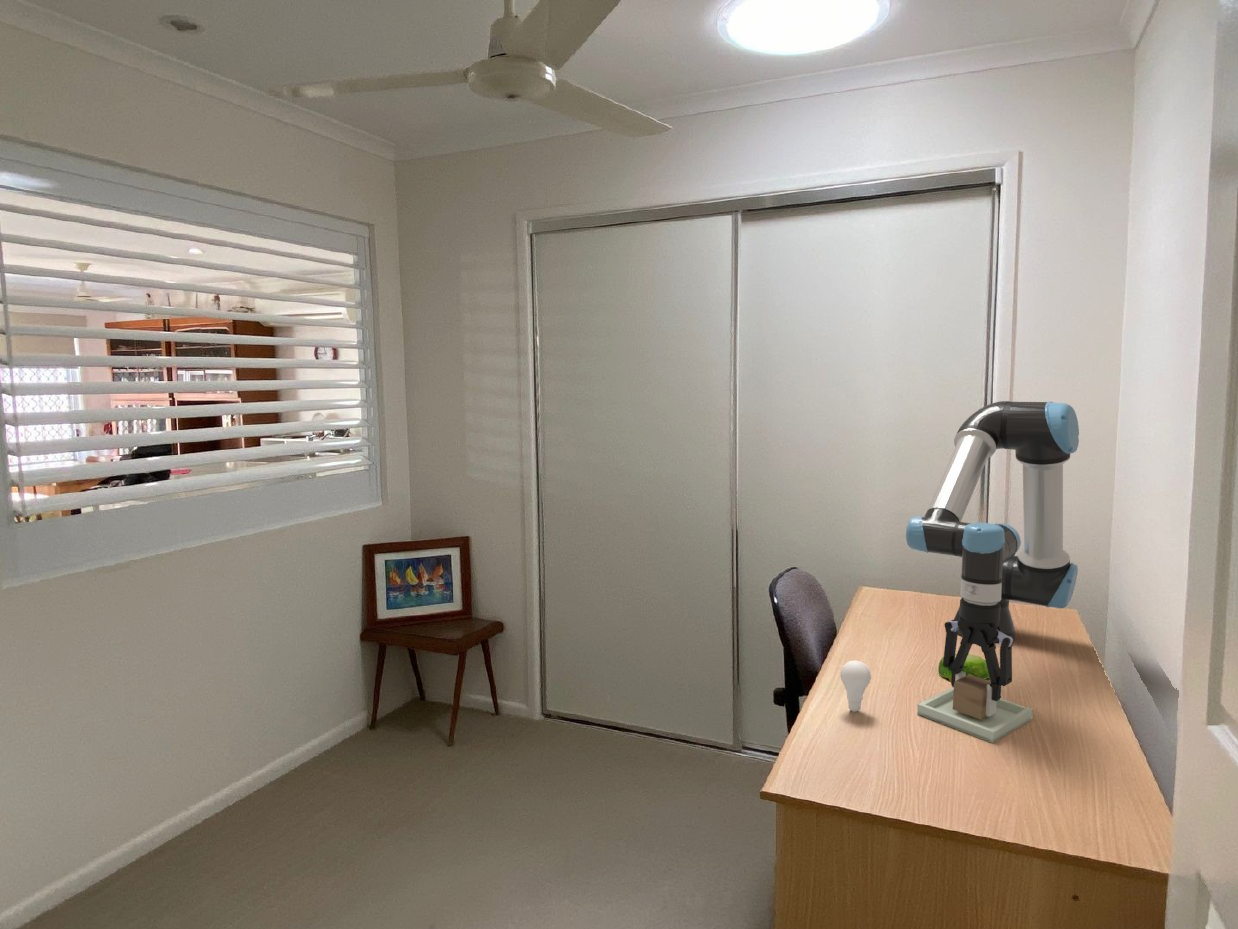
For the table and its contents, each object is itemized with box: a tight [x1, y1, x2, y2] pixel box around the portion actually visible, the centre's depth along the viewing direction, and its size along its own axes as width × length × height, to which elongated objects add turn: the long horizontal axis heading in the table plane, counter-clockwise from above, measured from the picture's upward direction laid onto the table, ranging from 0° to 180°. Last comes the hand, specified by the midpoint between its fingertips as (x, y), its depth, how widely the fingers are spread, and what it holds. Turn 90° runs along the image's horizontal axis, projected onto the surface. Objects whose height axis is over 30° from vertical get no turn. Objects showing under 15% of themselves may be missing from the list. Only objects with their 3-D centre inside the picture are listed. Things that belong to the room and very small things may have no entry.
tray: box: [916, 686, 1034, 744], centre depth 161 cm, size 16×16×2 cm
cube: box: [953, 675, 991, 720], centre depth 160 cm, size 6×6×6 cm
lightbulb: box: [839, 660, 872, 713], centre depth 163 cm, size 6×6×11 cm
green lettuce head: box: [938, 653, 990, 682], centre depth 182 cm, size 12×11×5 cm
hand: (974, 708), depth 161 cm, fingers closed on cube, 6 cm apart
